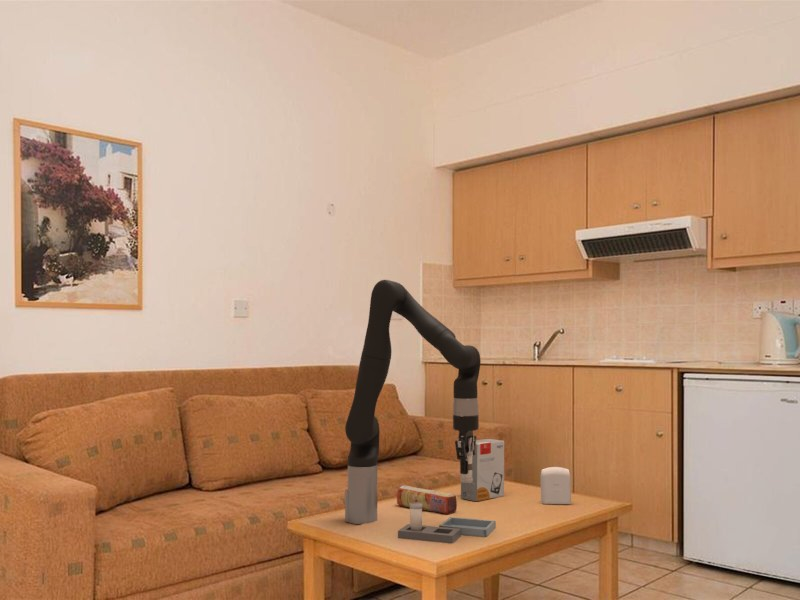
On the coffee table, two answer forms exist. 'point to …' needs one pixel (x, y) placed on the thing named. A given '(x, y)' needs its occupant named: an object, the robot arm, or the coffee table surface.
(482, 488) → the hard drive box
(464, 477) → the cylinder
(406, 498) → the snack package
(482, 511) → the coffee table surface
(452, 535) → the fuse block
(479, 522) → the parts tray
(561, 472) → the photo printer
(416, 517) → the fuse
